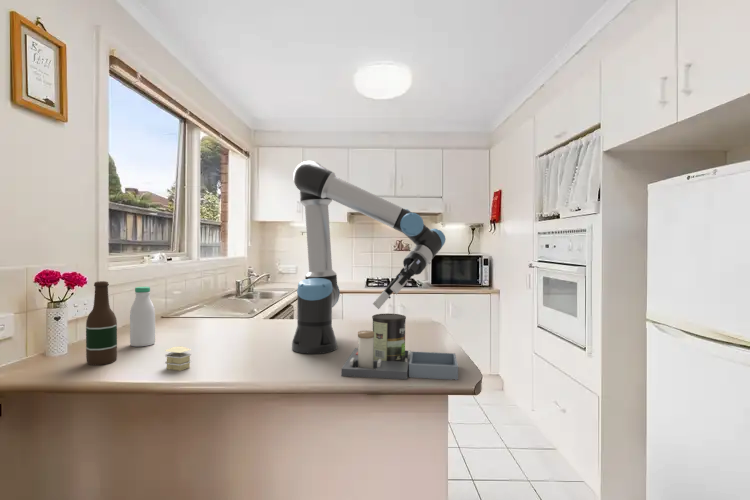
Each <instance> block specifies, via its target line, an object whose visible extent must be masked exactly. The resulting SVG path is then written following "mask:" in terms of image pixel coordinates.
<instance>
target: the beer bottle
mask: <svg viewBox="0 0 750 500" xmlns="http://www.w3.org/2000/svg"><path fill="white" fill-rule="evenodd" d="M93 286H94V297H93V308H92V310H91V311H90V312H89V313H88V316H87V318H86V321H85V322H86V323H85V345H86V346H85V350H86V351H85V353H86V354H85V357H86V364H88V366H103V365H109V364H112V363H114V362H115V361H117V359H118V321H117V317H116V314H115V312H114V311H113V310H112V309H111V307H110V299H109V298H110V297H109V287H108V286H109V282H108V281H104V280H103V281H95V282H94V283H93Z"/></svg>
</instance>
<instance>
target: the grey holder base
mask: <svg viewBox="0 0 750 500" xmlns="http://www.w3.org/2000/svg"><path fill="white" fill-rule="evenodd" d="M410 355H411V350H410V349H408V350H406V349H405V358H407V361H405V362H400V361H382V359H379V360H374V361H373V369H371V368H358V347H357V348H356V347H355V348H354V349H353V351H352V353H351V354H350V355H349V357H348V358H347V359H346V361H345V363H344V364H343V365H342V367H341V372H340V376H341V377H353V378H354V377H355V378H377V379H392V380H393V379H395V380H408V377H409V361H410Z"/></svg>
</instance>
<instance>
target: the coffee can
mask: <svg viewBox="0 0 750 500" xmlns="http://www.w3.org/2000/svg"><path fill="white" fill-rule="evenodd" d="M371 318H372V331H373V332H374V360H379V359H382V361H400V362H406V357H405V350H406V320H407V319H406V318H407V316H406V315H403V314H399V313H378V314H374V315H372V317H371Z"/></svg>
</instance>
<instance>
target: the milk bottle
mask: <svg viewBox="0 0 750 500" xmlns="http://www.w3.org/2000/svg"><path fill="white" fill-rule="evenodd" d="M134 294H135V297H134V301H133V303H132V306H131V308H130V311H129V313H130V314H129V344H130V346H131V347H139V348H140V347H147V346H151V345H154V344H155V343H156V309H155V306H154V303H153V301H152V300H151V296H150V294H151V287H150V286H136V287H135V288H134Z"/></svg>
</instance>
